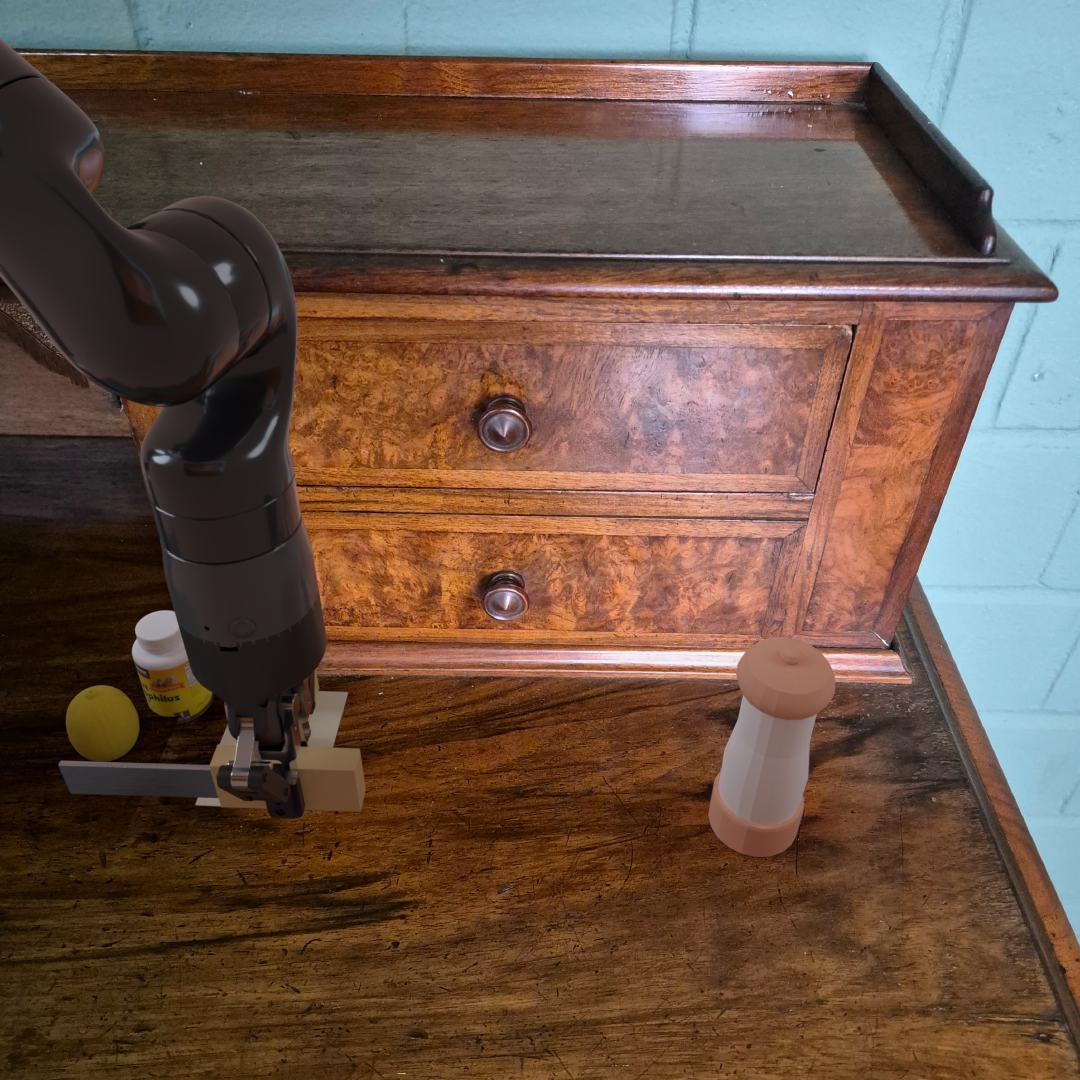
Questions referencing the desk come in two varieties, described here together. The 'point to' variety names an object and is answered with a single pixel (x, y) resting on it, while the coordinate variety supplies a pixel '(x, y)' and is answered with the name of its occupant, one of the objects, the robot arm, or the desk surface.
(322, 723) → the butter dish
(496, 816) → the desk surface
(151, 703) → the supplement bottle
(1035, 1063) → the desk surface
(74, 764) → the knife
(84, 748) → the lemon
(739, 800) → the pepper shaker
